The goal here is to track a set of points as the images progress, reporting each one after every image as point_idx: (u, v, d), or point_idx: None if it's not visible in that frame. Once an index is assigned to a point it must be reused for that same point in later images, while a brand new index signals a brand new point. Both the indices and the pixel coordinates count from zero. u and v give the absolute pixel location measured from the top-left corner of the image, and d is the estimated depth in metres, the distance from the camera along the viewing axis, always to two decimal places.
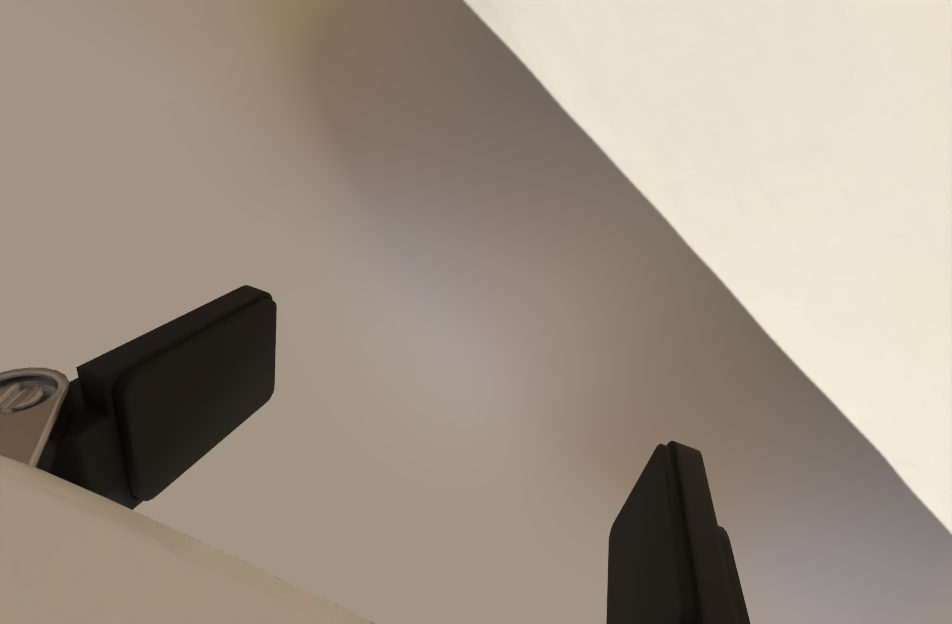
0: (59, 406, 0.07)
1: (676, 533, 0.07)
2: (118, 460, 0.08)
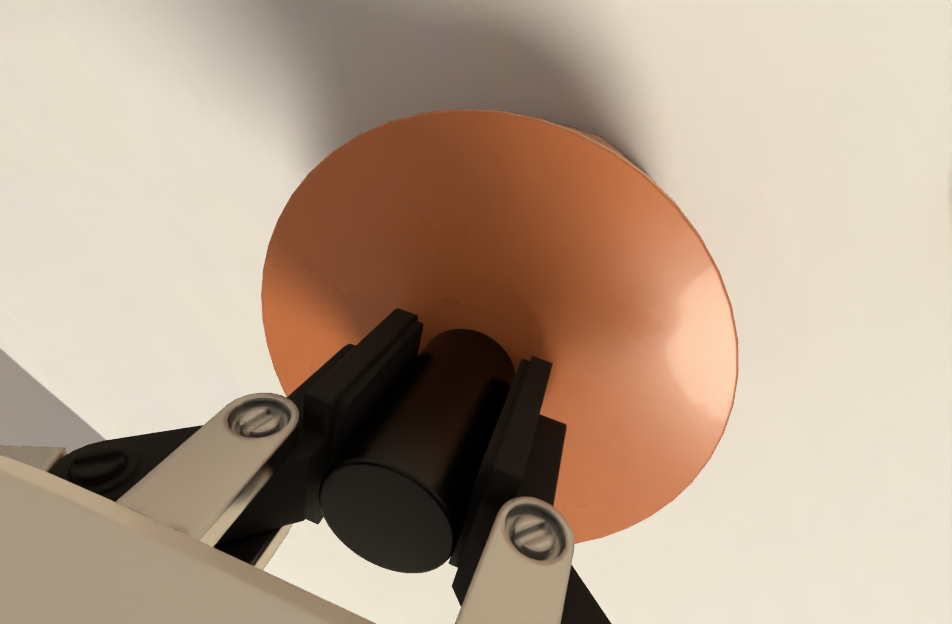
0: (277, 445, 0.07)
1: (503, 412, 0.09)
2: (322, 475, 0.09)
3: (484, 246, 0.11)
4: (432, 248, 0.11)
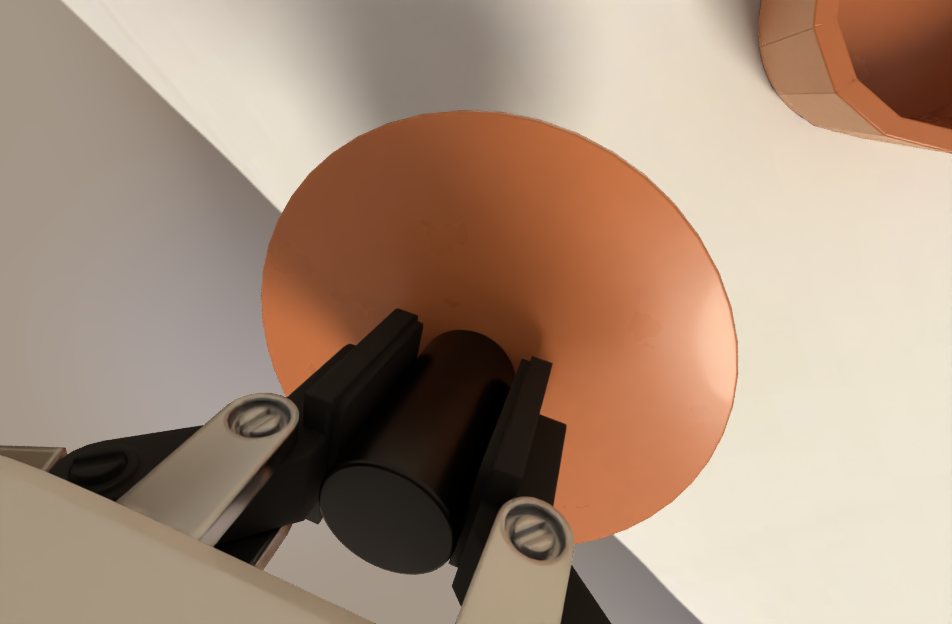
0: (277, 445, 0.07)
1: (503, 412, 0.09)
2: (322, 476, 0.09)
3: (484, 247, 0.11)
4: (432, 249, 0.11)
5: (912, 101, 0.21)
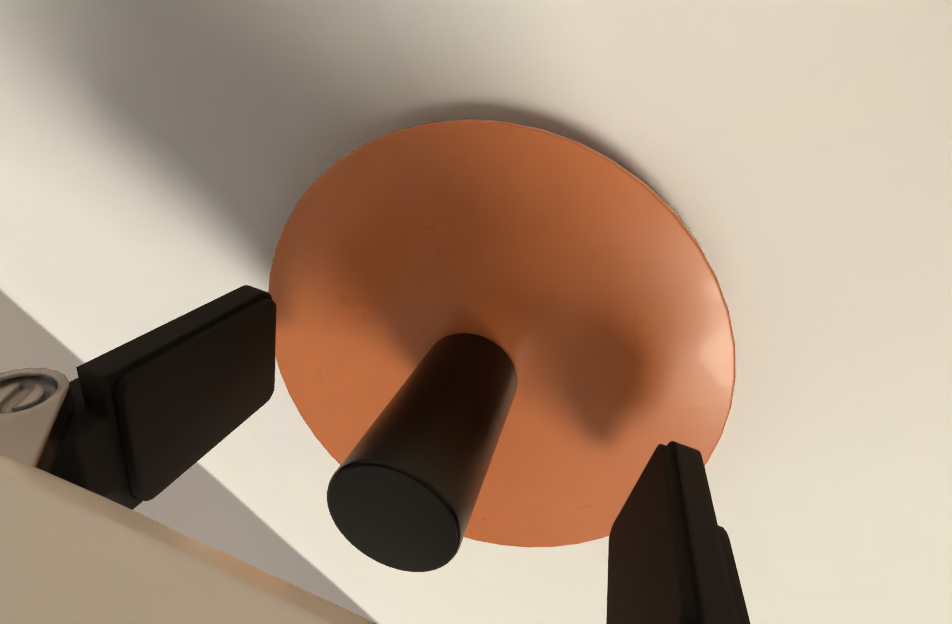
0: (59, 406, 0.07)
1: (676, 533, 0.07)
2: (118, 460, 0.08)
3: (487, 252, 0.11)
4: (436, 254, 0.11)
5: None
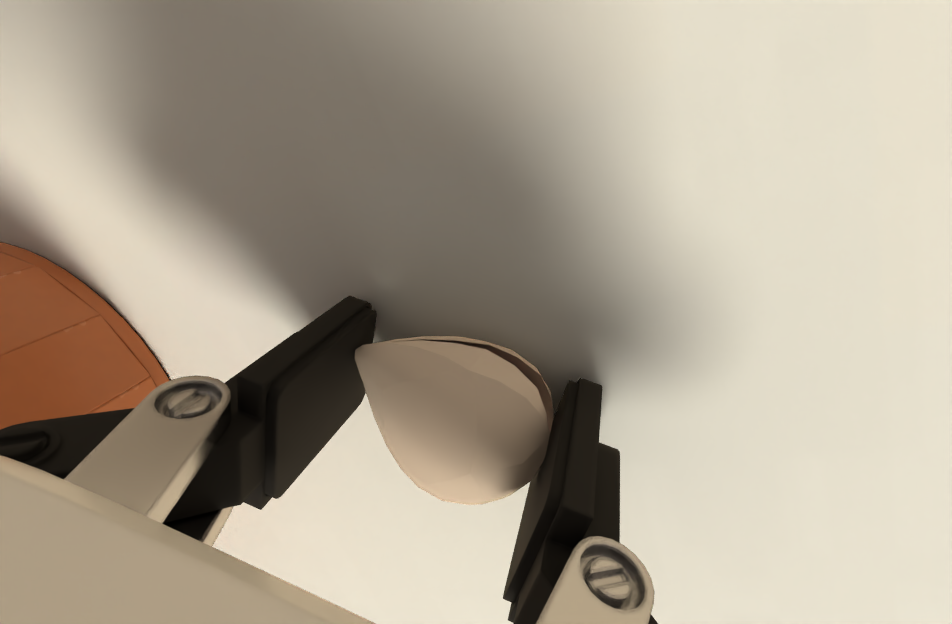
0: (214, 422, 0.07)
1: (561, 442, 0.08)
2: (261, 460, 0.09)
3: None
4: None
5: None
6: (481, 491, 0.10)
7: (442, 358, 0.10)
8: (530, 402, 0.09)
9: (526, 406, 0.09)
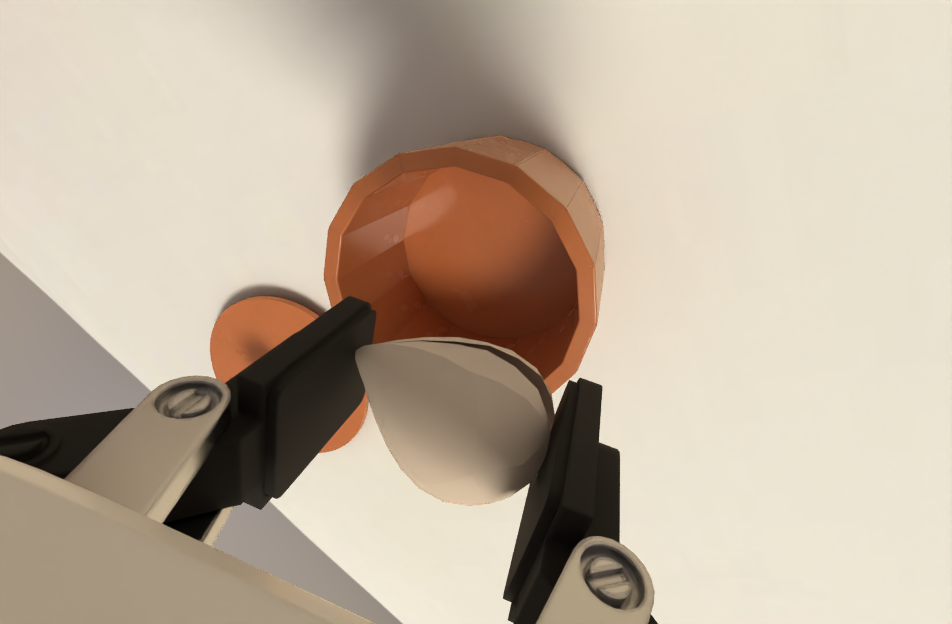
0: (213, 422, 0.07)
1: (561, 441, 0.08)
2: (261, 460, 0.09)
3: (281, 339, 0.31)
4: (266, 338, 0.32)
5: (510, 326, 0.27)
6: (481, 492, 0.10)
7: (442, 359, 0.10)
8: (531, 403, 0.09)
9: (527, 407, 0.09)
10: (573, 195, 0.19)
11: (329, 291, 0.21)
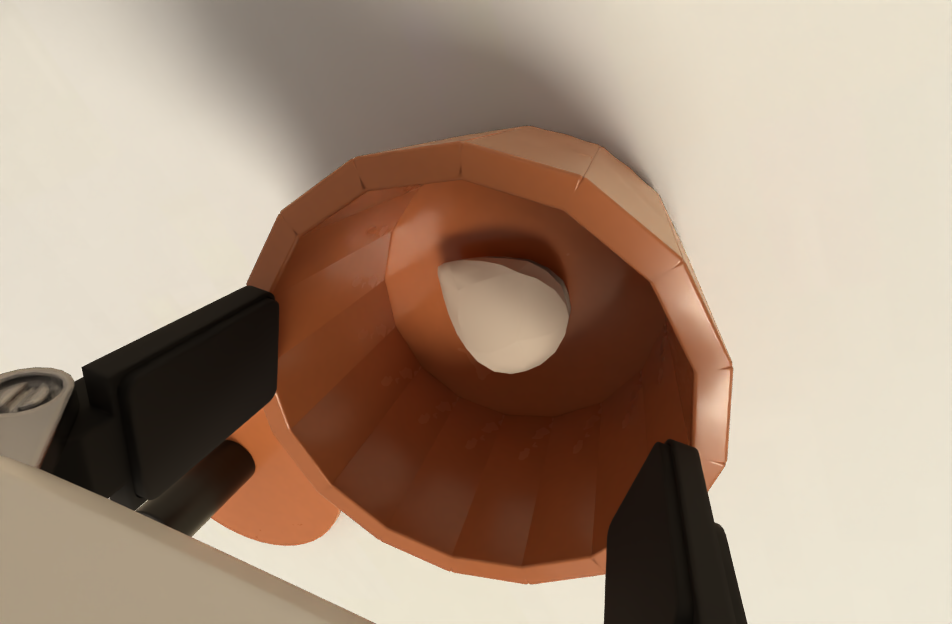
0: (64, 406, 0.07)
1: (673, 530, 0.07)
2: (122, 459, 0.08)
3: None
4: None
5: (539, 401, 0.19)
6: (523, 356, 0.15)
7: (500, 266, 0.15)
8: (557, 293, 0.15)
9: (554, 295, 0.15)
10: (670, 225, 0.11)
11: None
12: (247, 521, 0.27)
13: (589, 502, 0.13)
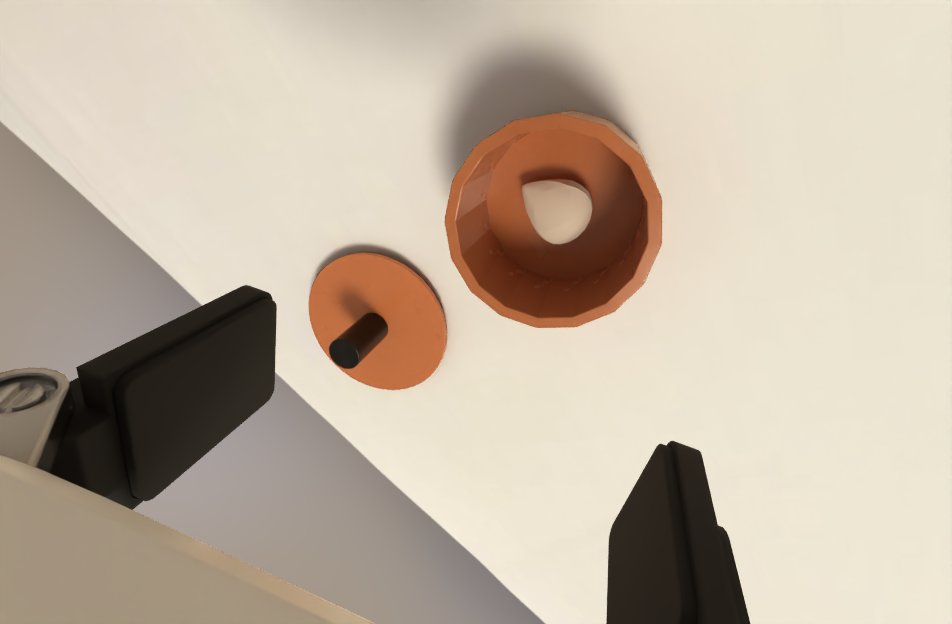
0: (59, 406, 0.07)
1: (676, 533, 0.07)
2: (118, 460, 0.08)
3: (375, 288, 0.38)
4: (361, 289, 0.38)
5: (573, 268, 0.33)
6: (568, 230, 0.30)
7: (557, 183, 0.29)
8: (586, 195, 0.29)
9: (585, 196, 0.29)
10: (640, 150, 0.25)
11: (448, 231, 0.27)
12: (375, 374, 0.41)
13: (604, 292, 0.28)
